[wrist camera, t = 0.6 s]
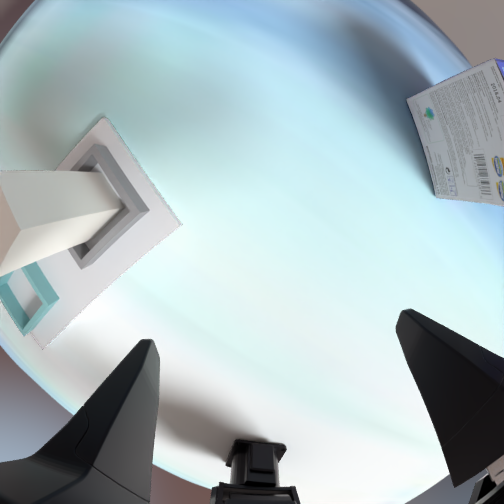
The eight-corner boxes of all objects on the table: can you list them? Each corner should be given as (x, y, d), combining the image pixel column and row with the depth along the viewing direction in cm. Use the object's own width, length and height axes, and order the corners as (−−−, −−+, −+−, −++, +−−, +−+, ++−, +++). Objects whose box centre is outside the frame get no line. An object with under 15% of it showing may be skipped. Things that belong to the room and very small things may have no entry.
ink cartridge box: (471, 188, 21) (583, 203, 7) (435, 201, 21) (560, 225, 7) (443, 93, 19) (547, 56, 5) (403, 98, 19) (515, 45, 5)
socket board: (108, 119, 20) (91, 112, 17) (182, 224, 22) (172, 230, 19) (-3, 267, 24) (-19, 274, 21) (46, 345, 26) (33, 357, 23)
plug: (125, 207, 21) (20, 230, 9) (93, 239, 22) (-8, 280, 10) (98, 165, 20) (-10, 160, 8) (67, 198, 21) (-36, 215, 9)
